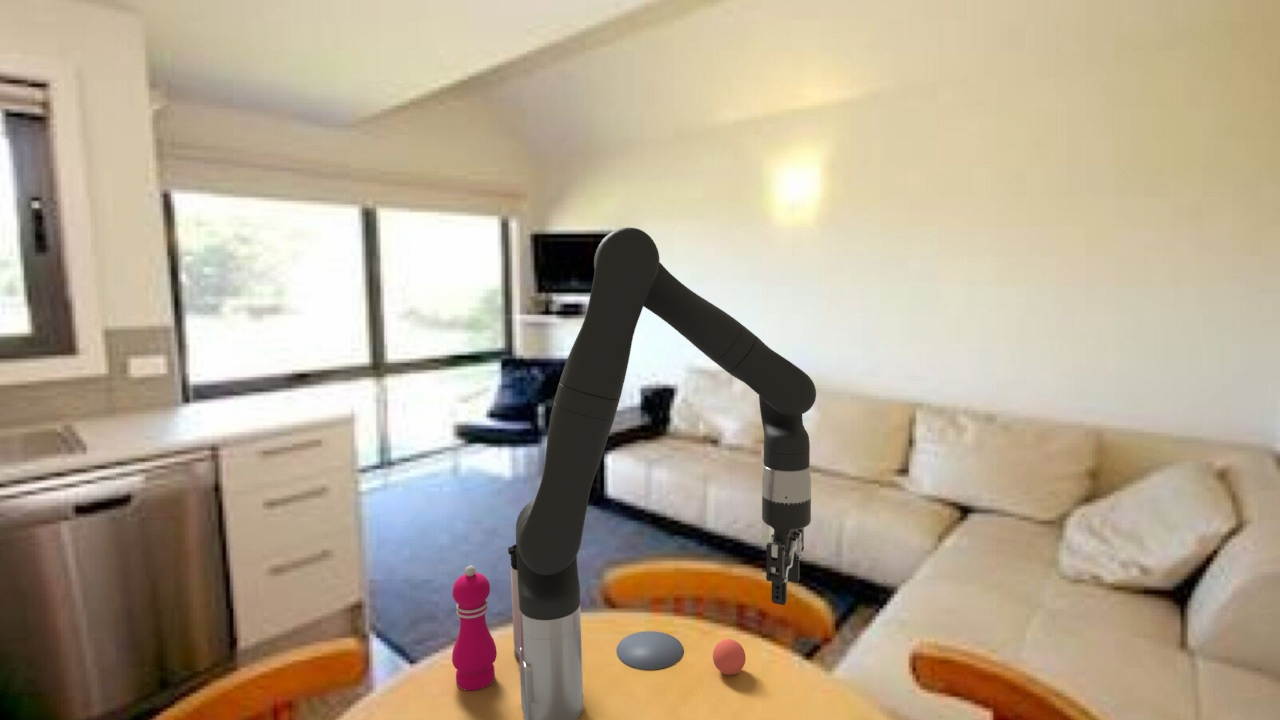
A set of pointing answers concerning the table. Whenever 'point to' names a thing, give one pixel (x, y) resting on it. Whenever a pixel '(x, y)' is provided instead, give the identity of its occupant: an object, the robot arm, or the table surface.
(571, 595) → the robot arm
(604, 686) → the table surface
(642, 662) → the disc
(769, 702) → the table surface
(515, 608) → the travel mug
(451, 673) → the table surface
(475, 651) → the pepper mill
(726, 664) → the ball
